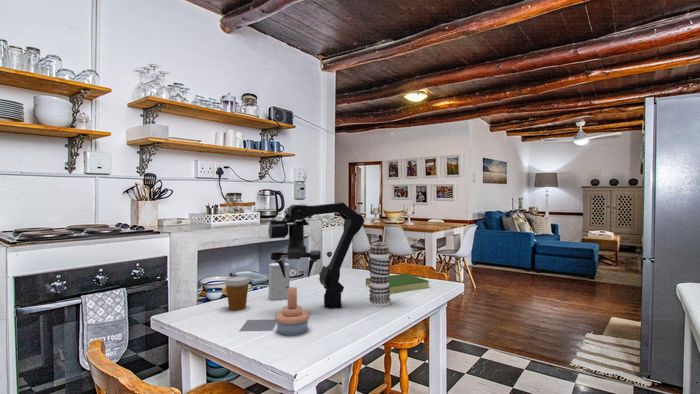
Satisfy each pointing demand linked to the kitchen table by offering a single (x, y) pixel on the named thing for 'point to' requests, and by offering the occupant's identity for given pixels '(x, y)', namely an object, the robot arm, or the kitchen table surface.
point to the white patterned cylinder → (379, 274)
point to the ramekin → (292, 328)
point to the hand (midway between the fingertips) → (296, 277)
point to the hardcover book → (404, 283)
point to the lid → (292, 310)
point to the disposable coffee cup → (237, 292)
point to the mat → (259, 325)
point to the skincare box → (278, 281)
